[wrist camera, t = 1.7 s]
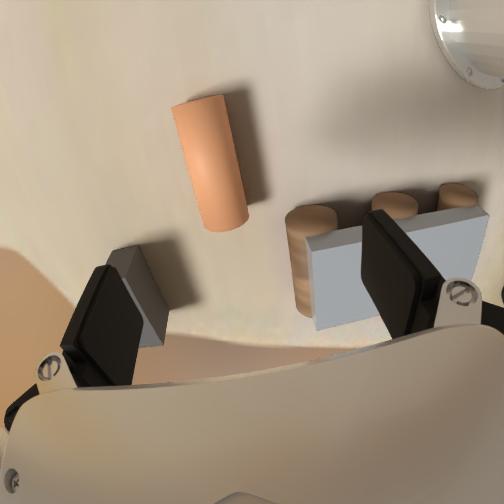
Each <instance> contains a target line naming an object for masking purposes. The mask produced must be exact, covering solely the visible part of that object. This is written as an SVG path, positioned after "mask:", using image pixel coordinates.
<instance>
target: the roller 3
mask: <svg viewBox="0 0 504 504" xmlns="http://www.w3.org/2000/svg"><path fill="white" fill-rule="evenodd" d="M477 202H478V195H477V193H476V192H475V191H474V190H472V189H471V188H469V187H466V186H464V185H460V184H454V183H447V184H443V185H441V186H440V189H439V198H438V207H437V211H441V210H447V209H452V208H457V207H472V206H475V205H476V204H477Z"/></svg>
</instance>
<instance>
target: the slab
mask: <svg viewBox="0 0 504 504" xmlns="http://www.w3.org/2000/svg"><path fill="white" fill-rule="evenodd" d="M488 219H489V214H488V213H486V212H485V211H484V210H483V209H482V208H480V207H479V206H478V205H477V204H476V205H475V206H472V207H457V208H452V209H447V210H441V211H436V212H430V213H425V214H420V215H415V216H413V217H411V218H408V219H401V220H397V219H393V220H394V221H395V222H396V223H397V224H398V226H399V227H400V228H401V229H402V230H403V231H404V232H405V233H406V234H407V235H408V236H409V237H410V239H411V240H412V241H413V242H414V243H415V244H416V245H417V246H418V248H419V249H420V250H421V251H422V252H423V253H424V254H425V256H426V257H427V258H428V259H429V260H430V261H431V263H432V264H433V265H434V266H435V267H436V269H437V270H438V271H439V272H440V273H441V275H442V276H443V278H444V279H445V280H446V281H447V280H448V279H451V278H456V277H459V278H464V279H467V280H470V281H471V280H472V277H473V274H474V271H475V268H476V265H477V261H478V258H479V254H480V251H481V247H482V244H483V240H484V236H485V232H486V228H487V224H488ZM305 241H306V251H307V262H308V274H309V287H310V301H311V315H312V318H313V321H314V325H315V328H316V331H317V330H322V329H326V328H331V327H335V326H339V325H343V324H348V323H352V322H356V321H360V320H364V319H367V318H371V317H375V316H379V315H380V314H379V312H378V310H377V308H376V306H375V304H374V303H373V301H372V299H371V297H370V295H369V293H368V292H367V290H366V288H365V286H364V284H363V282H362V280H361V255H362V225H361V226H356V227H351V228H345V229H340V230H335V231H330V232H328V233H326V234H323V235H319V236H312V237H305Z"/></svg>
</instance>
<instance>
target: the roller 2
mask: <svg viewBox="0 0 504 504" xmlns="http://www.w3.org/2000/svg"><path fill="white" fill-rule="evenodd" d="M285 224H286V231H287V238H288V245H289V253H290V260H291V268H292V276H293V284H294V292H295V301H296V307H297V309H298V311H299V312H300V313H301V314H302V315H304V316H306V317H310V318H312V315H311V301H310V287H309V274H308V262H307V251H306V241H305V237H312V236H319V235H323V234H326V233H328V232H330V231H335V230H338V224H337V214H336V212H335V211H334V210H333V209H331V208H329V207H326V206H321V205H307V206H302V207H299V208H296V209H294V210H292V211H290V212H289V213H288V214H287V215H286V217H285Z"/></svg>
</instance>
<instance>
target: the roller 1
mask: <svg viewBox="0 0 504 504" xmlns="http://www.w3.org/2000/svg"><path fill="white" fill-rule="evenodd" d="M172 112H173V116H174V120H175V123H176V127H177V131H178V135H179V138H180V142H181V146H182V150H183V153H184V157H185V161H186V164H187V168H188V171H189V175H190V178H191V182H192V186H193V189H194V192H195V196H196V199H197V203H198V206H199V210H200V213H201V216H202V220H203V223H204V227H205V228H206V229H207V230H209V231H212V232H224V231H229V230H233V229H235V228H238V227H240V226H241V225H243V224H244V223H245V222H246V221H247V220H248V218H249V213H248V208H247V203H246V199H245V194H244V189H243V184H242V180H241V175H240V170H239V166H238V161H237V156H236V152H235V147H234V142H233V138H232V133H231V128H230V124H229V119H228V114H227V110H226V105H225V101H224V96H223V95H215V96H210V97H205V98H201V99H197V100H193V101H189V102H186V103H183V104H179V105H177V106H174V107H172Z"/></svg>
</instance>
